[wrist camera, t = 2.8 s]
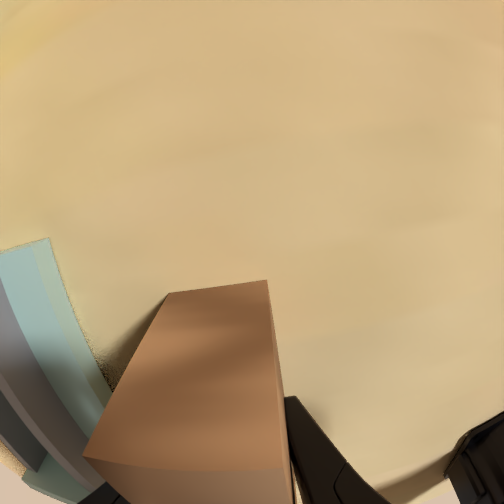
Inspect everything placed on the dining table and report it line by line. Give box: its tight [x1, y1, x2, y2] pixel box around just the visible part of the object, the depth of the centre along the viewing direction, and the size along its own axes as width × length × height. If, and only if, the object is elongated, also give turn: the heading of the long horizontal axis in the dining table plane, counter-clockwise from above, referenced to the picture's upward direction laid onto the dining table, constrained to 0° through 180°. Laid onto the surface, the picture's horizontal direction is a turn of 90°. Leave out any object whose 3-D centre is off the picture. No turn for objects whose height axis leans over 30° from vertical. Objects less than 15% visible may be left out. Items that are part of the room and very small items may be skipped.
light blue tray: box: [0, 238, 113, 504], centre depth 9 cm, size 11×13×4 cm
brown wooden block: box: [82, 280, 297, 504], centre depth 7 cm, size 3×8×6 cm, turn 9°
